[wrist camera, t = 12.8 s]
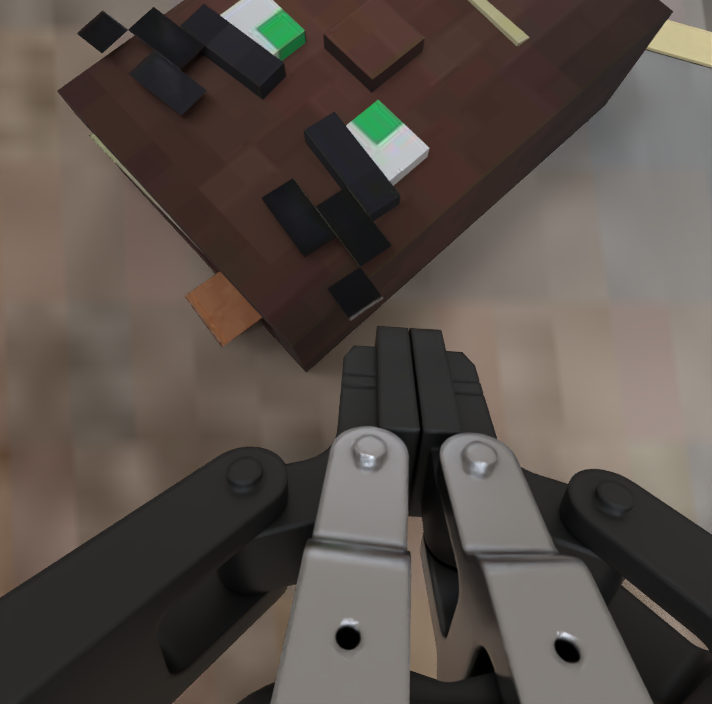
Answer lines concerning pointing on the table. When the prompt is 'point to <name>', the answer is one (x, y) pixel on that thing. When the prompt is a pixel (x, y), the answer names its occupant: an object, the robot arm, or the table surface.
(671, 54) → the tape mark
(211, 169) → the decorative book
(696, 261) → the table surface
